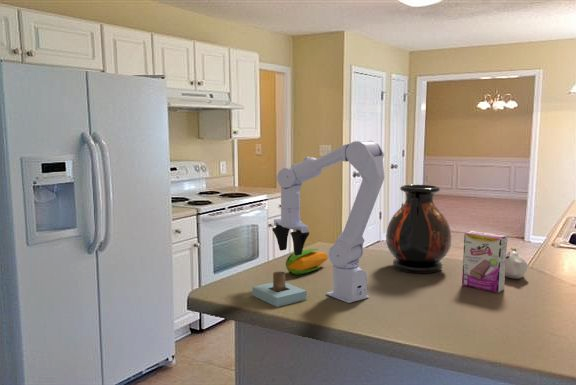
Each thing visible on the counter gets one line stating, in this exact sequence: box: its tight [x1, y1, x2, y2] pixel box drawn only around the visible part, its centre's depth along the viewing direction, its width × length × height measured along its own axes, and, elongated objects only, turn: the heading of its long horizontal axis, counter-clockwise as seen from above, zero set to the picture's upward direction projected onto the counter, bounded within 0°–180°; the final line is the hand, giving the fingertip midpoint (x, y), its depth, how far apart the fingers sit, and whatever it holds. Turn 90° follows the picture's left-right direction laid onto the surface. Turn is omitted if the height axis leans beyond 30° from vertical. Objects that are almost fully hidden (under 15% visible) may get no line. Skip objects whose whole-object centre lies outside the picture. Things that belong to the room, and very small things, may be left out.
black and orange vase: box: [385, 184, 452, 274], centre depth 171 cm, size 22×22×28 cm
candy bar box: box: [461, 230, 508, 294], centre depth 150 cm, size 11×5×16 cm, turn 47°
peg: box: [272, 271, 286, 292], centre depth 142 cm, size 3×3×7 cm
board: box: [251, 281, 307, 308], centre depth 142 cm, size 12×10×2 cm
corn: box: [284, 248, 329, 276], centre depth 169 cm, size 7×8×20 cm
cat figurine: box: [505, 247, 529, 280], centre depth 162 cm, size 10×8×15 cm
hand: (290, 252), depth 153 cm, fingers open, 7 cm apart
